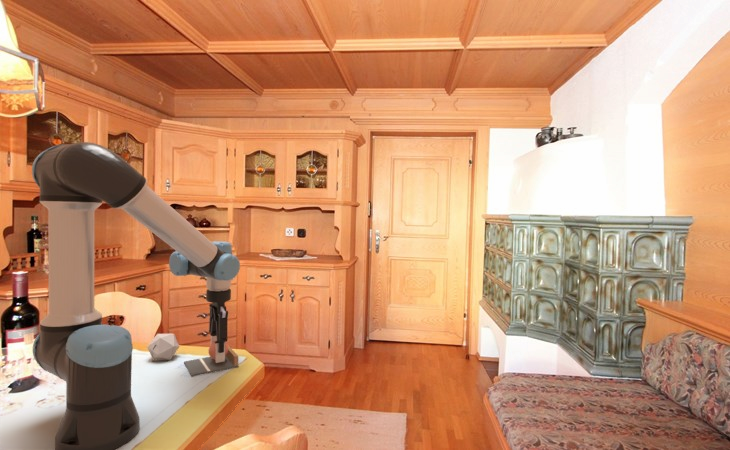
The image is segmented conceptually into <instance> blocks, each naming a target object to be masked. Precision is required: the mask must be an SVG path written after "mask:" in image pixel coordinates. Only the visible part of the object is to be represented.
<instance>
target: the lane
mask: <svg viewBox="0 0 730 450" xmlns="http://www.w3.org/2000/svg"><path fill="white" fill-rule="evenodd" d="M227 346H228V352H227V354H226V356H225V361H224V362H219V363H216V362H215V359H212V358H211V357H210V356H206V357H200V358H196V359H191V360H190V359H189V360H185V361H184V362H183V364H184V366H185V367H186V369H187V371H188V373H189V374H190V376H191V377H198V376H201V375H207V374H210V373H211V372H212V373H216V372H215V371H217V372H221V371H226V370H231V369H235V368H238V367H239V355H238V354H237V353H236V352H235V351H234V350H233V348H231V347H230V345H228V344H227ZM220 370H221V371H220ZM212 373H211V374H212Z"/></svg>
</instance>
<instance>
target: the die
mask: <svg viewBox="0 0 730 450" xmlns="http://www.w3.org/2000/svg"><path fill="white" fill-rule="evenodd" d="M146 347H147V350H148V351H149V354H150V356H151V358H152V361H171V359H173V356H175V354H176V352H177V351H178V350H179V348H180V345H179V342H178V340H177V338H176V335H175V334H174V333H156V335H155V336H154V337H153V339H152V340H151V341H150V342H149V344H148V345H147V346H146Z"/></svg>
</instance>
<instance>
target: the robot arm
mask: <svg viewBox="0 0 730 450" xmlns="http://www.w3.org/2000/svg"><path fill="white" fill-rule="evenodd" d="M31 175H32V179H33V181H34V183H35V184H36V185H37V186H38V188H39V204H41V205H43V207H44V208H46V209H47V211H48V214H47V215H48V218H47V219H48V221H47V223H48V230H47V231H48V313H47V315H46V316H44V317H43V318H42V319H41V320H40V322H39V333H38V334H37V336H36V337H35V338H34V341H33V344H32V356H33V358H34V360H35V361H36V364H38V366H39V367H40V368H41V369H42V370H44V371H45V372H48V373H49V374H52V375H53V376H56V378H57V377H58V378H59V379H61V380H63V381H65V383H66V389H65V391H66V393H65V394H66V395H65V397H66V406H65V411H64V414H63V417H62V419H61V423H60V424H59V427H58V430H57V432H56V435H55V441H54V449H55V450H116V449H118V448H120V447H122V446H124V445H125V444H126V443H128V442H130V441H132V439H134V438H135V436H136V435H137V434H138V433H139V430H140V421H141V420H140V415H139V412H138V410H137V407H136V405H135V403H134V400H133V397H132V369H133V368H132V367H133V365H132V364H133V361H132V360H133V357H132V356H133V349H134V347H133V341H132V335H131V333H130V331H129V330H128V329H126V328H125V327H123V326H120V325H115V324H113V325H109V324H103V314H102V313H101V312H100V311H98V310H97V309H96V308H95V234H96V233H95V225H96V224H95V215H96V214H95V211H96V210H97V209H98V208H99V207H100V206H101V205H103V203H105V204H106V205H108V206H109V207H111V208H112V209H115V210H117V209H118V210H120V209H121V210H122V211H124V212H125V213H127V214H128V215H129V216H131V218H133V219H134V220H136V221H137V222H138V223H139V224H140V225H142V226H143V227H144V228H146V229H147V230H149V231H150V232H151V233H153V234H154V235H155V236H157V237H158V238H159V239H160V240H161V241H163V242H164V243H165V244H167V245H168V246H169V247H171V248H172V249H174V250H175V251H173V252H172V253H171V254H170V256H169V260H168V261H169V263H168V266H169V270H170V272H171V273H172V274H173V275H174V276H175V277H180V276H183V277H186V276H189V275H190V276H196V277H203V278H206V285H205V286H206V287H205V288H206V289H207V290H206V292H205V293H206V294H205V295H206V302H207V303H209V322H208V323H209V324H208V332H209V335H210V345H211V344H212V343H214V342H215V344H216V358H215V362H216V363H219V362H224V361H225V343H226V342H228V340H229V339H228V319H229V317H228V316H229V310H227V306H226V304H225V303H226V302H229V301H231V299H232V290H231V287H232V281H233V280H234V279H235V278H236V277H237V275H238V274H239V272H240V269H241V264H240V260H239V258H238V257H237V255H234V254H233V251H232V250H233V249H232V248H233V247H232V244H231V242H230V241H224V240H223V241H221V240H219V241H217V240H216V241H211V240H210V239H209V238H207V237H206V236H205V234H203V233H202V232H201V231H199V230H198V229H197V228H196V227H195V226H194V225H193V224H191V222H189V221H188V220H187V219H186V218H185V217H184V216H183V215H181V214H180V213H179V212H178V211H177V210H175V209H174V208H173V207H172V206H171V205H170V204H168V203H167V201H165V200H164V199H163V198H162V197H160V195H158V194H157V192H155V191H154V190H153V189H152V188H151V187H149V186H148V180H147V178H146V177H145V176H143V174H141V173H140V172H139V171H138V170H137V169H135V167H133V166H132V165H131V164H130V163H128V162H127V161H126V160H125V158H122V157H121V156H119V155H118V154H117V153H115V152H114V151H113V150H111V149H109V148H107V147H106V146H104V145H101V144H98V143H96V142H95V143H94V142H87V141H82V142H75V143H72V144H71V143H70V144H59V145H53V146H51V147H50V148H47V149H45V150H44V151H41V152H40V153H39V154H38V155H37V156H36V157H35V159H34V161H33V163H32V166H31Z"/></svg>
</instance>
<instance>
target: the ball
mask: <svg viewBox="0 0 730 450" xmlns="http://www.w3.org/2000/svg"><path fill="white" fill-rule="evenodd" d="M227 345H228V344H227V343H226V342H225V356H226V354H227V352H228V346H229V345H228V346H227ZM208 355H209V357H211V358H212V359H215V358H216V344H215V342H214V343H212V344H211V343H210V345H209V348H208Z"/></svg>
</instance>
